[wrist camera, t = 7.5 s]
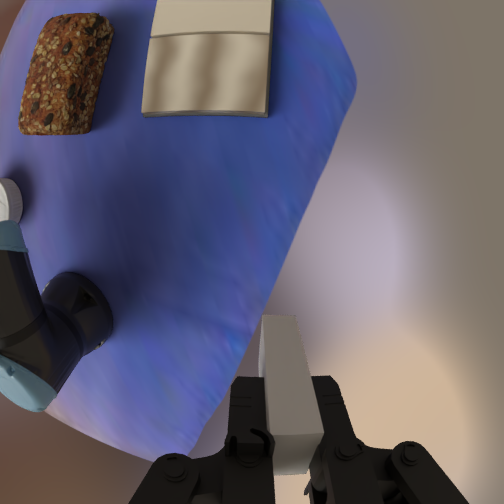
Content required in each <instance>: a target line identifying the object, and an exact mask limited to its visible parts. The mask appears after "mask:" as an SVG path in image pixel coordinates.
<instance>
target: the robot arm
mask: <svg viewBox="0 0 504 504" xmlns="http://www.w3.org/2000/svg"><path fill="white" fill-rule="evenodd" d="M112 328H113V317H112V313H111V309H110V307H109V304H108V302H107V300H106V299H105V297H104V296H103V294H102V293H101V291H100V290H99V289H98V288H97V287H96V286H95V285H94V284H93V283H92V282H91V281H89V280H88V279H86V278H85V277H83V276H81V275H79V274H76V273H71V272H65V273H61V274H58V275H57V276H55V277H54V278H53V279H51V280H50V281H49V282H48V283H47V284H46V286H45V288H44V290H43V292H42V295H41V296H40V293H39V290H38V287H37V284H36V281H35V277H34V274H33V270H32V267H31V263H30V260H29V256H28V249H27V248H26V245H25V242H24V239H23V235H22V231H21V228H20V226H19V225H18V223H16V222H15V221H13V220H5V221H0V392H1V393H2V394H4V395H5V396H6V397H8V398H9V399H10V400H11V401H12V402H14V403H15V404H17V405H19V406H20V407H22V408H24V409H26V410H29V411H34V412H41V411H43V410H45V409H46V408H47V407H48V405H49V404H50V403H51V402H52V400H53V399H55V398H56V397H57V394H58V393H59V391H60V390H61V388H62V386H63V385H64V383H65V382H66V380H67V379H68V377H69V376H70V374H71V373H72V371H73V370H74V368H75V367H76V365H77V364H78V362H79V361H80V359H81V358H82V357H83V356H85V355H87V354H88V353H90V352H92V351H93V350H95V349H97V348H99V347H101V346H102V345H103V344H104V343H105V341H106V340H107V339H108V337H109V336H110V334H111V331H112ZM224 444H225V446H224V447H223V448H222V449H221V450H220V451H219V452H218V453H216V454H214V455H211V456H208V457H202V458H197V459H191V458H189V457H187V456H186V455H183V454H178V453H171V454H165V455H163V456H161V457H159V458H158V459H157V460H156V461H155V462H154V463H153V464H152V466H151V468H150V469H149V471H148V473H147V474H146V476H145V477H144V479H143V481H142V482H141V484H140V486H139V487H138V489H137V490H136V492H135V494H134V495H133V497H132V499H131V500H130V502H129V504H275V489H274V475H295V474H306V473H307V471H308V469H310V476H311V479H310V481H309V483H308V485H307V486H306V488H305V490H304V495H307V494H308V492H309V498H310V504H469V503H468V501H467V500H466V499H465V498H464V496H463V495H462V494H461V493H460V491H459V490H458V489H457V488H456V486H455V485H454V484H453V483H452V481H451V480H450V479H449V478H448V476H447V475H446V474H445V473H444V471H443V470H442V469H441V468H440V467H439V465H438V464H437V463H436V461H435V460H434V459H433V458H432V456H431V455H430V454H429V453H428V451H427V450H426V449H425V448H424V447H423V446H422V445H421V444H419V443H416V442H414V441H405V442H402V443H400V444H398V445H397V446H395V448H394V449H393V450H392V449H380V448H373V447H369V446H366V445H365V444H364V443H363V442H362V441H361V440H359V439H358V438H356V436H355V434H354V431H353V428H352V425H351V422H350V419H349V415H348V412H347V409H346V406H345V404H344V400H343V397H342V396H341V392H340V388H339V386H338V384H337V382H336V381H335V380H334V379H333V378H332V377H331V376H330V375H329V376H311V375H310V371H309V368H308V363H307V359H306V355H305V351H304V347H303V343H302V339H301V335H300V332H299V328H298V324H297V320H296V316H295V315H293V316H292V315H262V326H261V338H260V350H259V377H240V376H239V377H237V378H236V379H235V381H234V382H233V383H232V385H231V394H230V407H229V420H228V434H227V436H226V439H225V443H224Z"/></svg>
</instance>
